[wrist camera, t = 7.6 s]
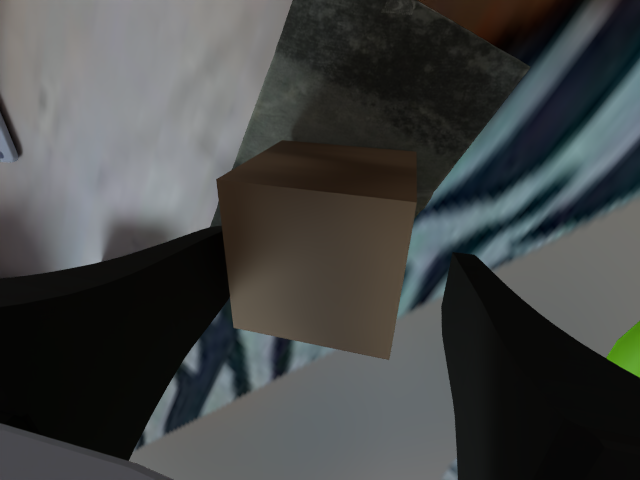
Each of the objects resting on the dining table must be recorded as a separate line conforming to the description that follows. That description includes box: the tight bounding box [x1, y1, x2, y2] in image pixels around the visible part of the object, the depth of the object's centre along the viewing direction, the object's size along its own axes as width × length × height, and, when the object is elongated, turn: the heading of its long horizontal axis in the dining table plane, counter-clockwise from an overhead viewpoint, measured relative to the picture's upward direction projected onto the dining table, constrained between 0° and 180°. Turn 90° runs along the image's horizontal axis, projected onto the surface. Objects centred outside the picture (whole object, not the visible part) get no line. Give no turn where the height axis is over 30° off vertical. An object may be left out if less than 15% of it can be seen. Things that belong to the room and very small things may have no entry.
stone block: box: [210, 0, 530, 227], centre depth 16 cm, size 9×14×5 cm, turn 153°
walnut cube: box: [216, 140, 417, 360], centre depth 12 cm, size 5×5×5 cm
